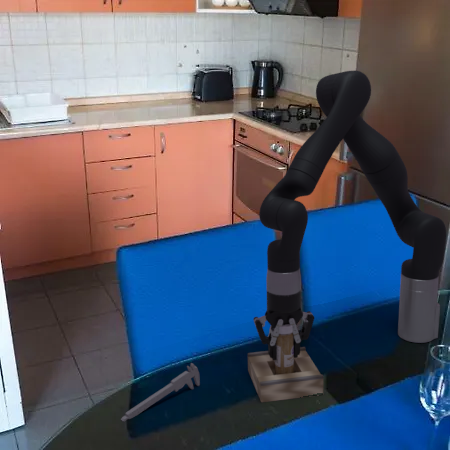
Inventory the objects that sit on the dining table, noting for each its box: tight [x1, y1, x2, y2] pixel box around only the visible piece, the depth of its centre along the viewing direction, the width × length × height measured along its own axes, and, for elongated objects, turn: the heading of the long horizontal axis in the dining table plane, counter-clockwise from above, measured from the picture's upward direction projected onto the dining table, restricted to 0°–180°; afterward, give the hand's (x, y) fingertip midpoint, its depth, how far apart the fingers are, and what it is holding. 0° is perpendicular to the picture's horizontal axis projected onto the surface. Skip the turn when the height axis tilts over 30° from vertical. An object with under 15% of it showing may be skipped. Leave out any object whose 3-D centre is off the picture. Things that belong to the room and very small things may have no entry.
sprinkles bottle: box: [275, 324, 294, 375], centre depth 134 cm, size 5×5×14 cm
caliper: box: [120, 362, 201, 423], centre depth 129 cm, size 20×1×6 cm, turn 131°
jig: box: [247, 346, 324, 403], centre depth 135 cm, size 14×14×5 cm
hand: (284, 357), depth 134 cm, fingers closed on sprinkles bottle, 4 cm apart
